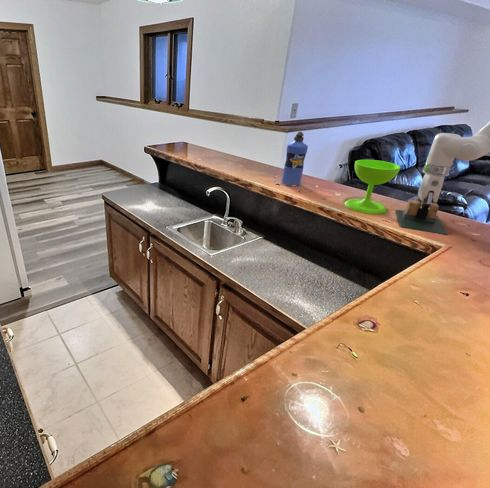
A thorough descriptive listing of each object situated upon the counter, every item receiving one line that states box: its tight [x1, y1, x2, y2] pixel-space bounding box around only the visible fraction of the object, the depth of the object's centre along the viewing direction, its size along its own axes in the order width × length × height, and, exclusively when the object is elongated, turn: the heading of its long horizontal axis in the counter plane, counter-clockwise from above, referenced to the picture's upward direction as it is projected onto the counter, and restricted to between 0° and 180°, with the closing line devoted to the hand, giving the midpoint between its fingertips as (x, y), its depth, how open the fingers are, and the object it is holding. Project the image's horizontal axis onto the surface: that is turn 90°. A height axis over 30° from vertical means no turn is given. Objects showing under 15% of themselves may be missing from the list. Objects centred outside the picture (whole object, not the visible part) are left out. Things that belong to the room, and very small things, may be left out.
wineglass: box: [343, 159, 402, 215], centre depth 142 cm, size 16×16×18 cm
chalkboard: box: [395, 209, 449, 236], centre depth 131 cm, size 14×20×1 cm
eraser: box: [403, 199, 440, 223], centre depth 132 cm, size 10×6×6 cm, turn 64°
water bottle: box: [281, 131, 309, 186], centre depth 170 cm, size 9×9×25 cm
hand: (419, 215), depth 133 cm, fingers closed on eraser, 5 cm apart
